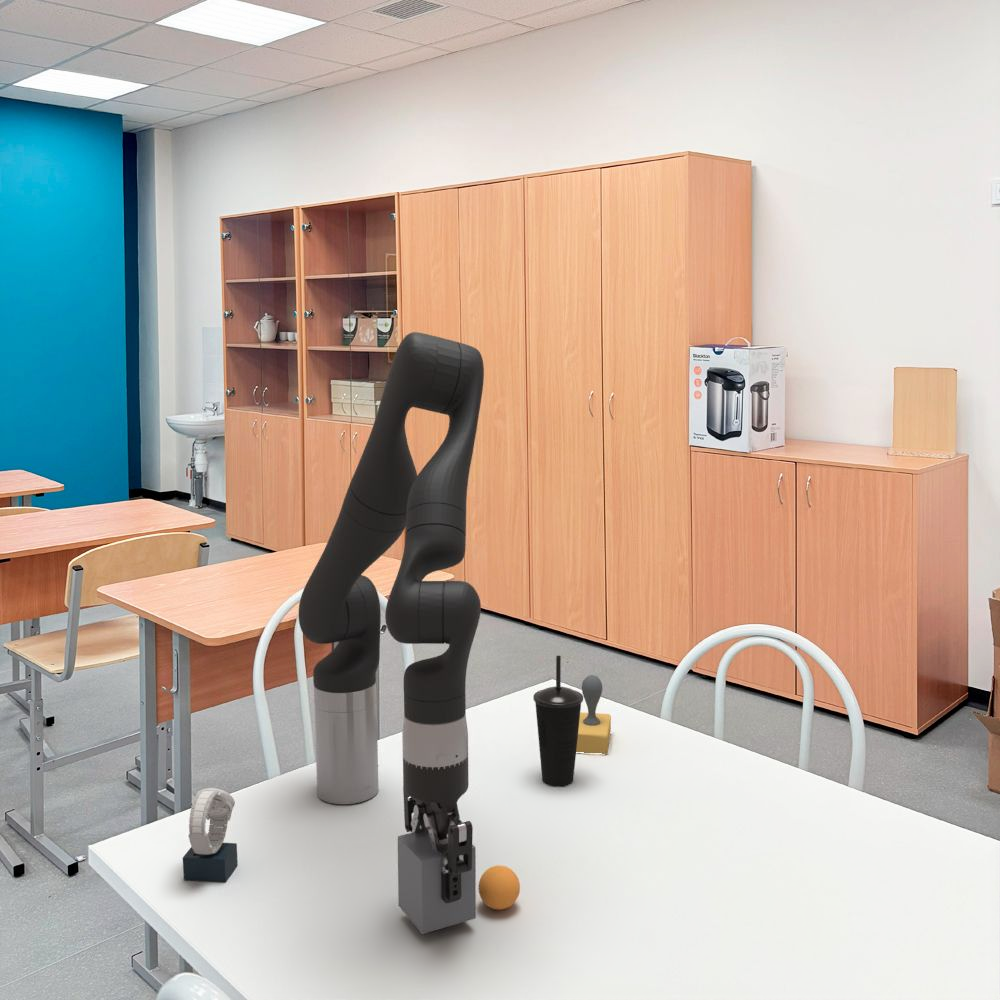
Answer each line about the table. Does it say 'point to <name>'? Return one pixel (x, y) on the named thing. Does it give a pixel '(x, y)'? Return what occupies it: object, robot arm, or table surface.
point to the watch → (210, 838)
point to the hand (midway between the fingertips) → (437, 885)
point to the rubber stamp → (593, 720)
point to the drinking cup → (558, 730)
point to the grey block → (431, 885)
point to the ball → (499, 887)
